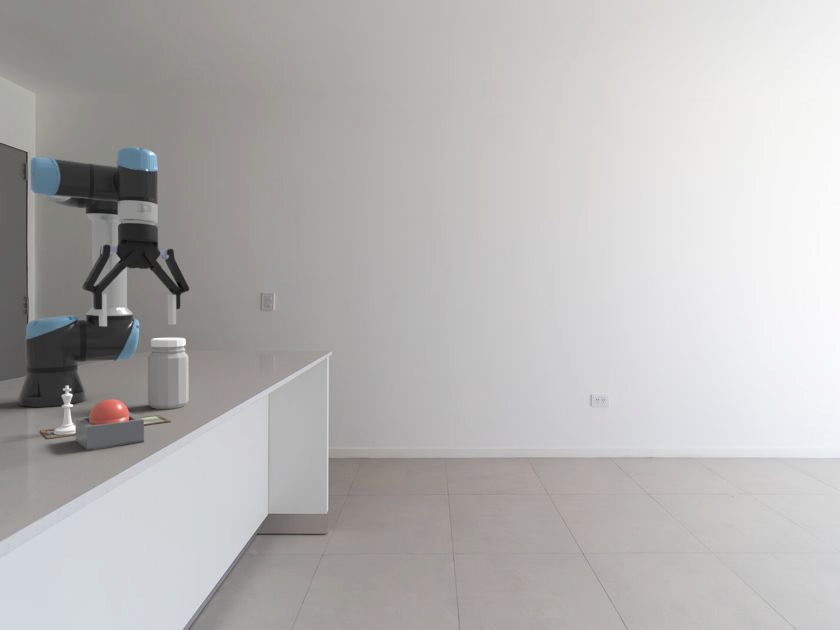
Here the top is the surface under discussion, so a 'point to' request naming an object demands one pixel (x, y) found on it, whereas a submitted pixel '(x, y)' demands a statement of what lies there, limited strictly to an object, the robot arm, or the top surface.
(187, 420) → the top surface
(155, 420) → the brown wooden flat frame
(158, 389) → the jar
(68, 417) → the chess piece
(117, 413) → the coral red ball
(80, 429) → the housing
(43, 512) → the top surface
